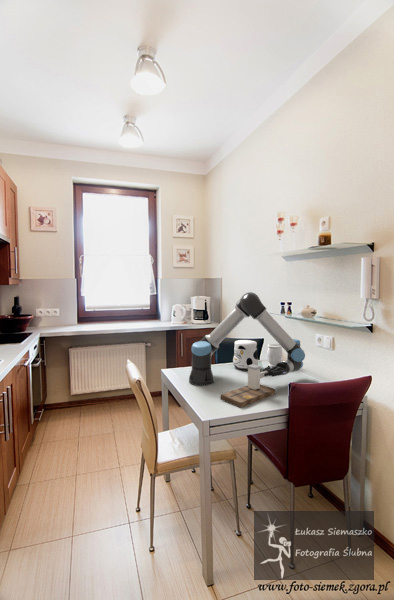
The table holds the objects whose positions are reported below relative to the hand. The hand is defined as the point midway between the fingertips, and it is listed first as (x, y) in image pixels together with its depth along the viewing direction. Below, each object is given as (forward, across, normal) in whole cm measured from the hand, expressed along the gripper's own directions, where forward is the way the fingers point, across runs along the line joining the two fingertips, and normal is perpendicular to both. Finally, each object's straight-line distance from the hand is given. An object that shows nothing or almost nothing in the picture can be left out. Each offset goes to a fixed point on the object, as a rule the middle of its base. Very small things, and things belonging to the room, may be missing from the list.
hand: (259, 375), depth 175 cm
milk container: (-29, +35, -9) cm, 47 cm away
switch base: (+11, -1, -9) cm, 14 cm away
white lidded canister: (+5, 0, -6) cm, 7 cm away
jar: (-48, +25, -9) cm, 55 cm away
